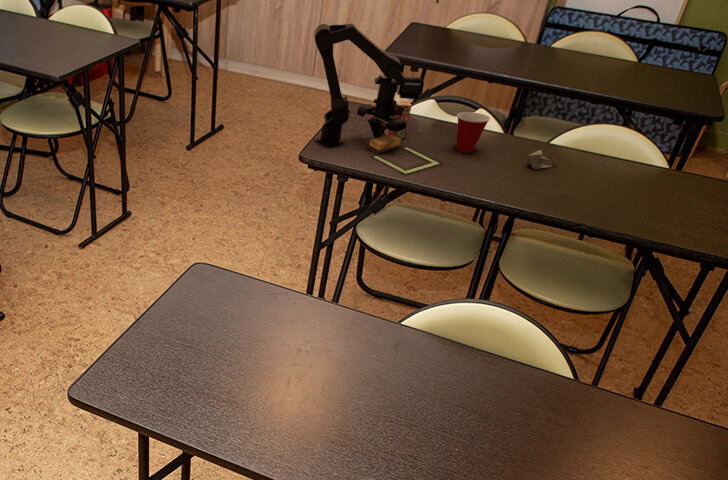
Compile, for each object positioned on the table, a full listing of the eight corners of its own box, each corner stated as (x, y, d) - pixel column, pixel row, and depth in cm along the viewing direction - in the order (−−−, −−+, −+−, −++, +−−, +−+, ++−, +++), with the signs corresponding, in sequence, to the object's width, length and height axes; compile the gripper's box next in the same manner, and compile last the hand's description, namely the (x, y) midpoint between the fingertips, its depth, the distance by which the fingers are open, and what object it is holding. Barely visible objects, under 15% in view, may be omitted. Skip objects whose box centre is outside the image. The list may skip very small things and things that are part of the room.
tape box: (405, 174, 225) (405, 173, 225) (373, 157, 235) (373, 156, 235) (439, 163, 231) (439, 163, 231) (406, 147, 241) (406, 147, 241)
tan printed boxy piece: (375, 116, 264) (381, 83, 256) (391, 116, 264) (398, 83, 256) (387, 138, 247) (394, 104, 239) (404, 138, 247) (412, 104, 239)
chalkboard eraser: (378, 154, 236) (380, 144, 234) (368, 149, 240) (370, 139, 237) (399, 148, 240) (401, 139, 238) (388, 143, 244) (390, 134, 241)
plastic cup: (474, 143, 245) (483, 109, 238) (484, 155, 237) (495, 121, 229) (444, 142, 245) (453, 109, 237) (453, 155, 237) (463, 121, 229)
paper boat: (537, 155, 235) (565, 156, 229) (531, 173, 236) (559, 175, 230) (525, 143, 227) (554, 144, 220) (519, 162, 228) (548, 164, 221)
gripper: (423, 101, 229) (412, 146, 239) (383, 84, 241) (374, 128, 251) (399, 107, 224) (389, 153, 234) (360, 90, 236) (352, 134, 246)
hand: (376, 141), depth 242 cm, fingers closed
